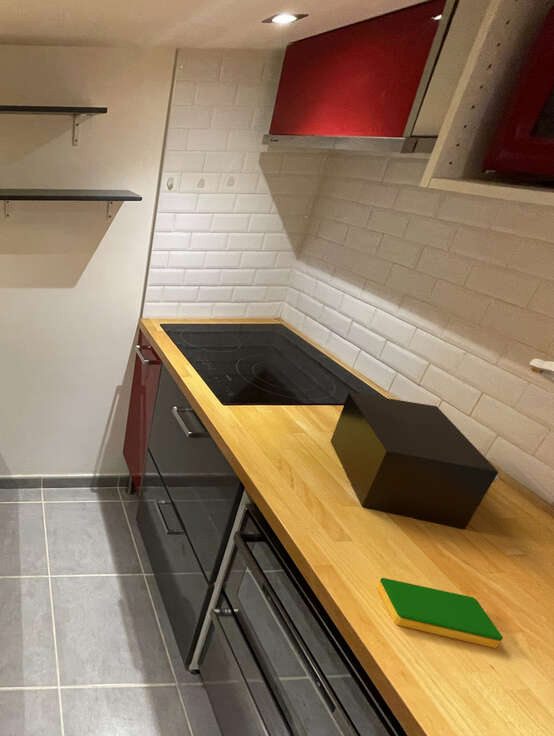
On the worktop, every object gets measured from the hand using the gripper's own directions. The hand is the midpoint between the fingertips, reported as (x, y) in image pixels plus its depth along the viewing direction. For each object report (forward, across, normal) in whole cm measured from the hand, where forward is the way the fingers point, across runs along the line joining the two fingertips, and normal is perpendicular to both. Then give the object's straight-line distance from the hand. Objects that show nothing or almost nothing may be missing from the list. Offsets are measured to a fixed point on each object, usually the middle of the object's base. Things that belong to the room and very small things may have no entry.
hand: (532, 364), depth 93 cm
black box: (+4, -6, +36) cm, 36 cm away
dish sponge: (-20, +13, +54) cm, 60 cm away
